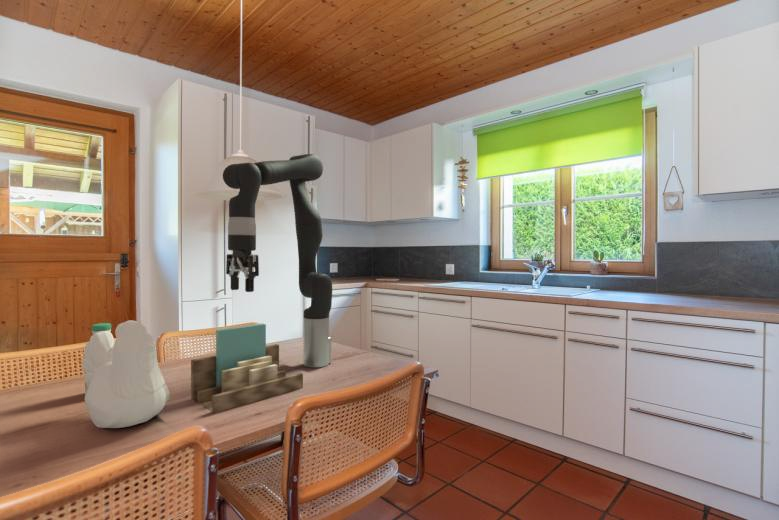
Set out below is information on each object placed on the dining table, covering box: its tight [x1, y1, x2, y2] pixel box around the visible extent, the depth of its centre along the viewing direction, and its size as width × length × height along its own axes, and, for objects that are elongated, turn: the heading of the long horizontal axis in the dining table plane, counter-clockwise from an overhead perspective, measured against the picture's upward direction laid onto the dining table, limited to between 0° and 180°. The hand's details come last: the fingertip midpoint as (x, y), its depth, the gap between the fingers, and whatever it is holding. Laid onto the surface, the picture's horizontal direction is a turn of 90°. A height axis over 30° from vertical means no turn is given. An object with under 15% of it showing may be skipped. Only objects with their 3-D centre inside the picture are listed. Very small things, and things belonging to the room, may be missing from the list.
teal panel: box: [215, 323, 267, 387], centre depth 117 cm, size 14×2×18 cm, turn 138°
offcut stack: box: [222, 356, 277, 393], centre depth 114 cm, size 15×4×9 cm, turn 138°
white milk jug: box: [81, 319, 171, 429], centre depth 100 cm, size 25×16×25 cm, turn 54°
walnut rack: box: [190, 343, 304, 414], centre depth 115 cm, size 26×14×12 cm, turn 138°
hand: (241, 290), depth 117 cm, fingers open, 8 cm apart
